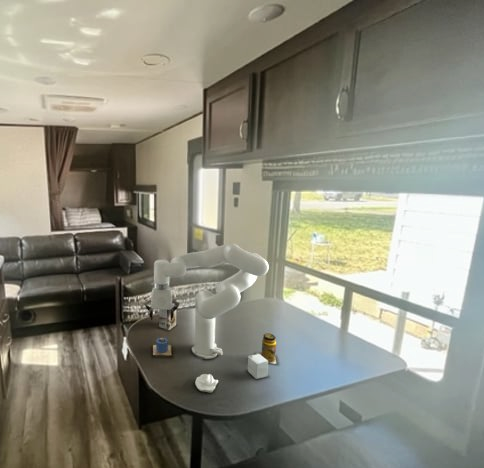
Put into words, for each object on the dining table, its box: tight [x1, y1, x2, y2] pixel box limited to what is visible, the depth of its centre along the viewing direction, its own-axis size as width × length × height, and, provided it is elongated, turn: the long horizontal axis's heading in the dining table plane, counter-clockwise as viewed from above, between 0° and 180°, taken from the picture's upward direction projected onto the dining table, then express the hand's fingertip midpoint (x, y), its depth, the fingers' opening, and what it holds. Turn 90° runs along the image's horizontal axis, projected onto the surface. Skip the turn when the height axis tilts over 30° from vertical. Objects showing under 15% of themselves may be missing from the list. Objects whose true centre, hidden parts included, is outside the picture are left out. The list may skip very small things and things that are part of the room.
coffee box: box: [158, 298, 177, 331], centre depth 174 cm, size 9×6×16 cm
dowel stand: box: [152, 337, 172, 356], centre depth 148 cm, size 9×9×7 cm
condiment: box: [255, 332, 277, 365], centre depth 141 cm, size 7×8×12 cm
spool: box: [155, 337, 169, 353], centre depth 148 cm, size 6×6×5 cm
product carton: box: [247, 353, 269, 380], centre depth 131 cm, size 6×6×7 cm
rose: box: [194, 373, 219, 393], centre depth 124 cm, size 10×4×10 cm
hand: (161, 318), depth 147 cm, fingers open, 9 cm apart
